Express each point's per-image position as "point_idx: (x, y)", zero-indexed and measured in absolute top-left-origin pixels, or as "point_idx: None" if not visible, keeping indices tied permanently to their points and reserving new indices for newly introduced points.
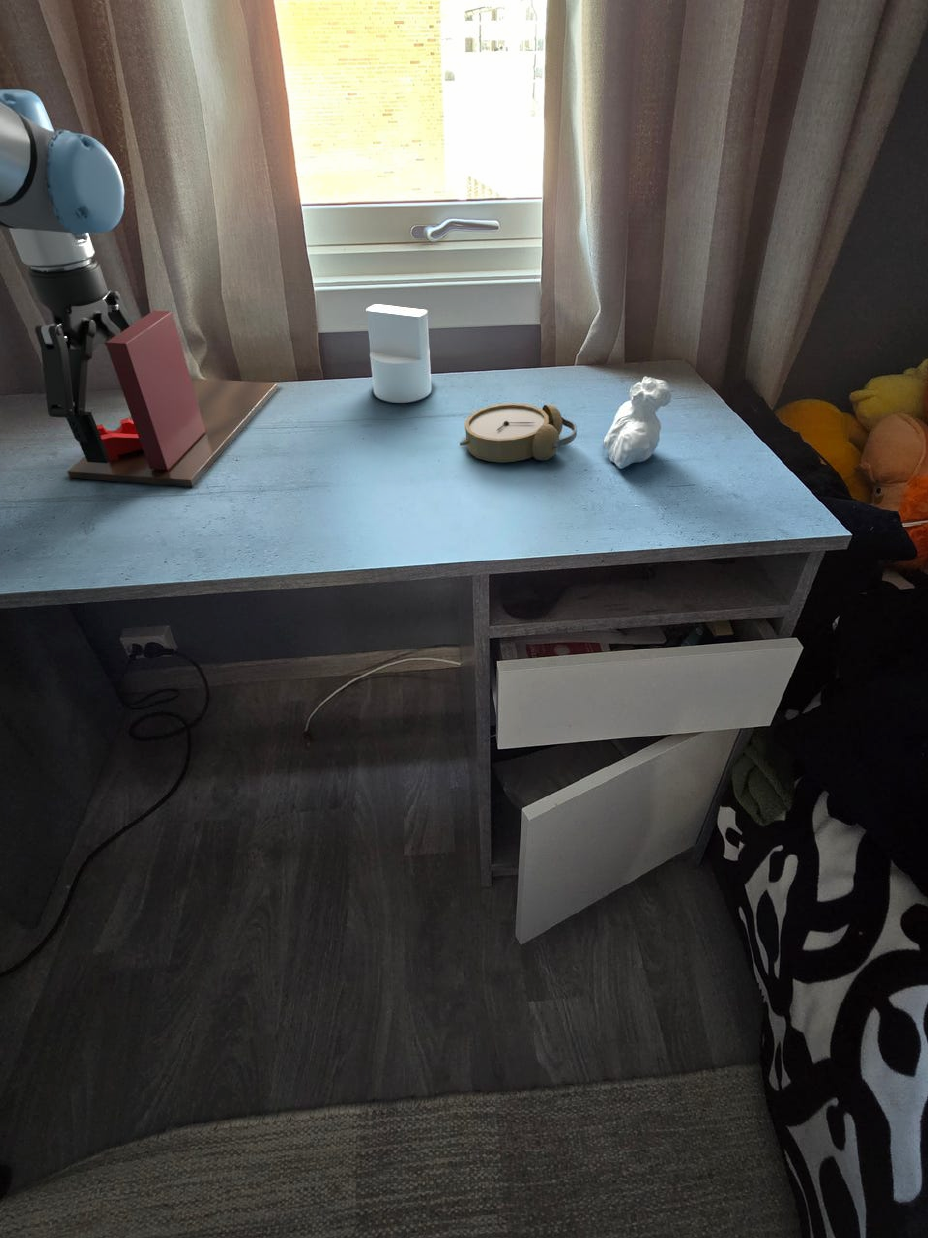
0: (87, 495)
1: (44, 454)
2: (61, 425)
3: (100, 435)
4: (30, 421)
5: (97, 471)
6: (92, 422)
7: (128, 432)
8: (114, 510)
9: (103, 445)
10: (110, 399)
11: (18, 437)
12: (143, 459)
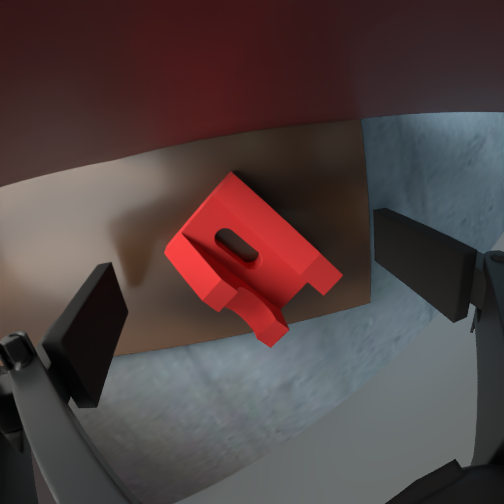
0: (410, 216)
1: (291, 397)
2: (191, 439)
3: (281, 317)
4: (201, 471)
5: (364, 243)
6: (451, 241)
7: (227, 273)
8: (438, 132)
9: (400, 219)
10: None
11: (251, 456)
12: (291, 174)
